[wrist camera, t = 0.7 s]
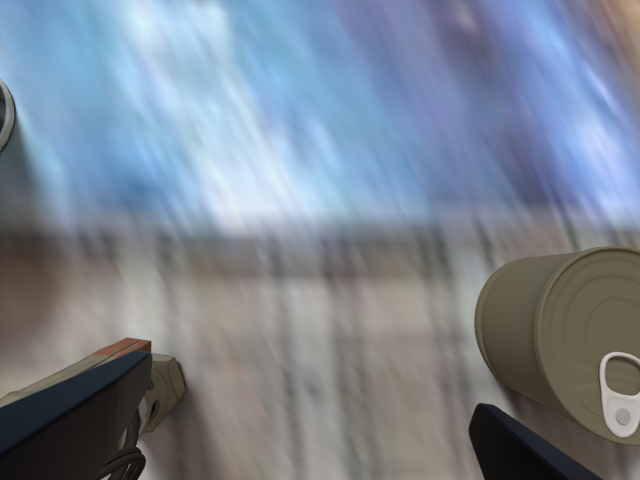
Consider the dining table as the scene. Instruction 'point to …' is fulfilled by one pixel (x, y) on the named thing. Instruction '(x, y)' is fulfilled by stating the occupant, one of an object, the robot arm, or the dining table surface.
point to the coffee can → (5, 114)
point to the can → (569, 336)
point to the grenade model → (149, 413)
